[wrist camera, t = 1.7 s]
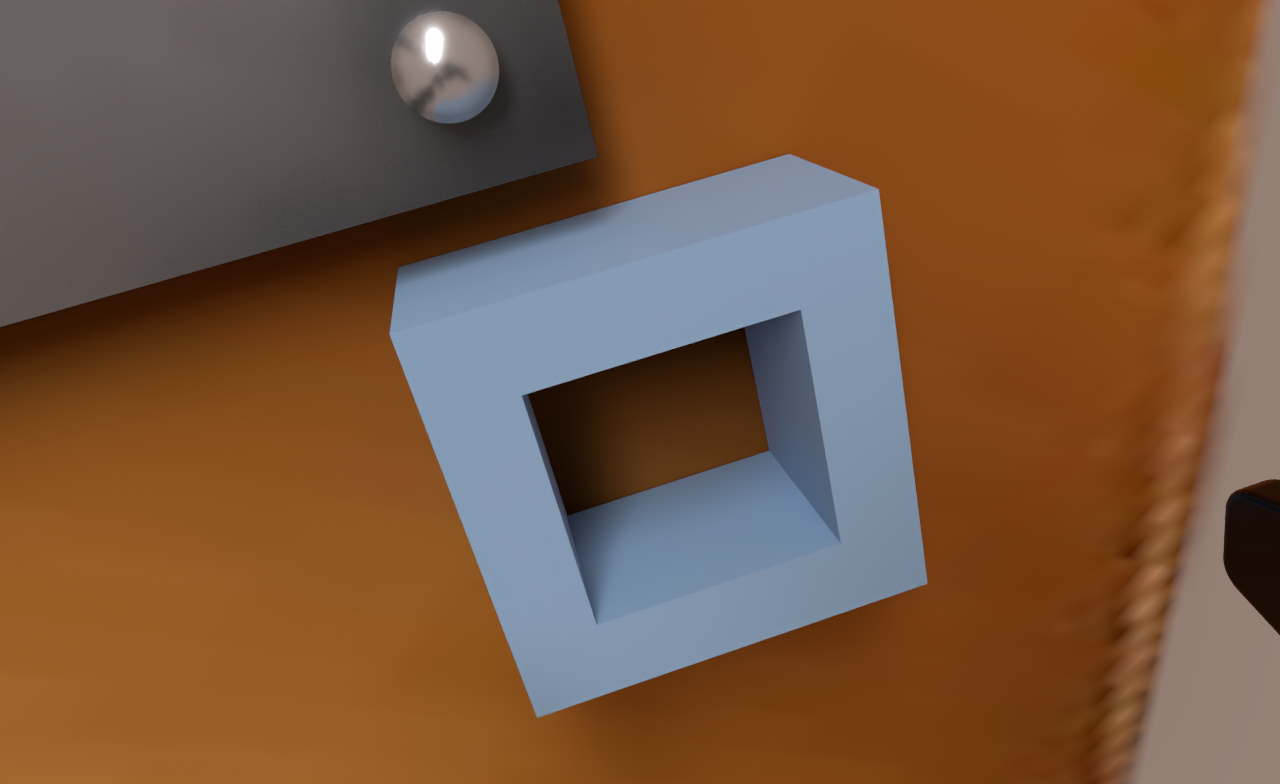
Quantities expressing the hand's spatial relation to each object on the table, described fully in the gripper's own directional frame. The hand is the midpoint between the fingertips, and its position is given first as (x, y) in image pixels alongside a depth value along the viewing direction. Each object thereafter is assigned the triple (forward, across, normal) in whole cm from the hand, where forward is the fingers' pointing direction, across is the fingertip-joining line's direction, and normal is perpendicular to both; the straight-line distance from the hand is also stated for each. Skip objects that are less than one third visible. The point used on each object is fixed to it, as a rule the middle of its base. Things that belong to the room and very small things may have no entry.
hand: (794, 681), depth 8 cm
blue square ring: (+7, 0, 0) cm, 7 cm away
